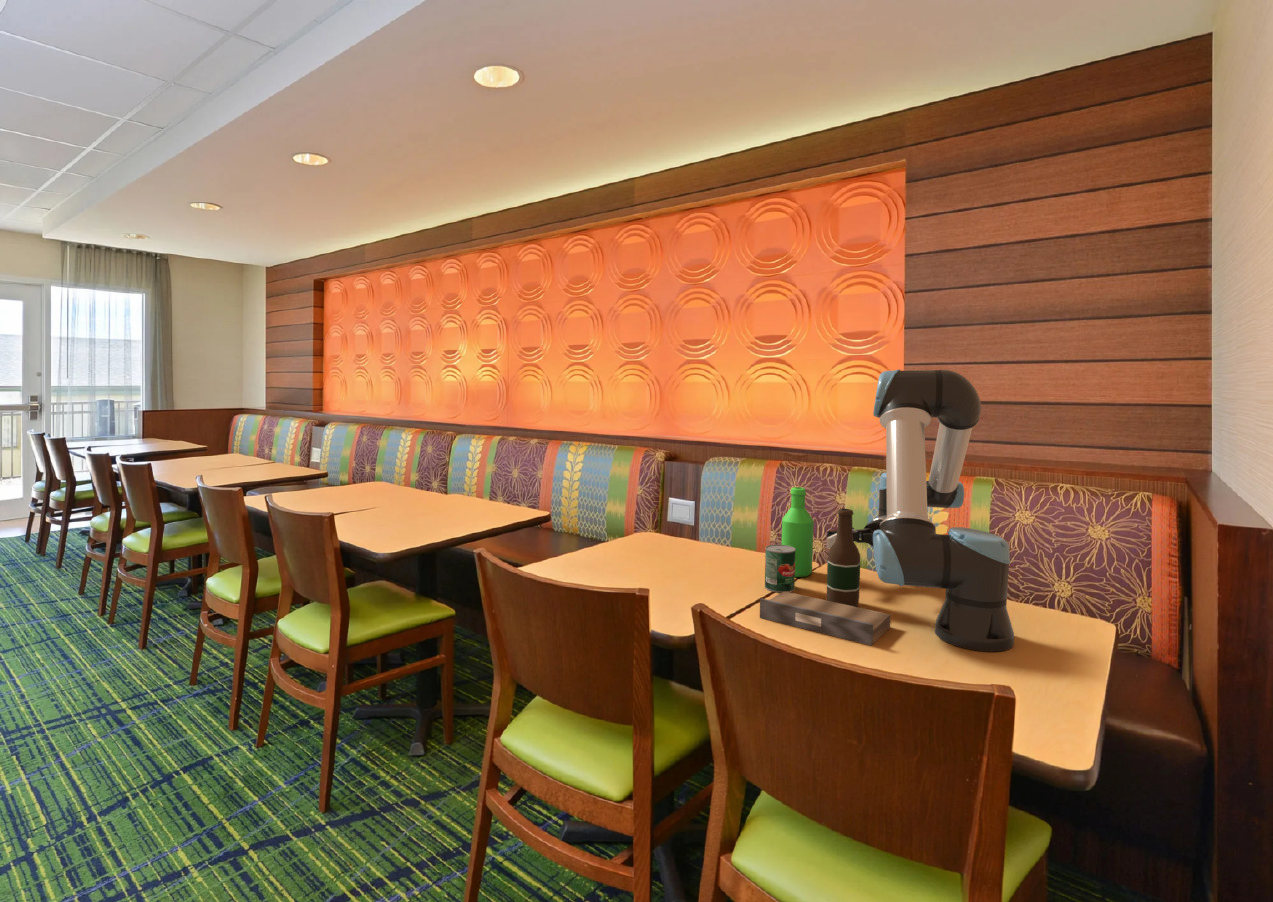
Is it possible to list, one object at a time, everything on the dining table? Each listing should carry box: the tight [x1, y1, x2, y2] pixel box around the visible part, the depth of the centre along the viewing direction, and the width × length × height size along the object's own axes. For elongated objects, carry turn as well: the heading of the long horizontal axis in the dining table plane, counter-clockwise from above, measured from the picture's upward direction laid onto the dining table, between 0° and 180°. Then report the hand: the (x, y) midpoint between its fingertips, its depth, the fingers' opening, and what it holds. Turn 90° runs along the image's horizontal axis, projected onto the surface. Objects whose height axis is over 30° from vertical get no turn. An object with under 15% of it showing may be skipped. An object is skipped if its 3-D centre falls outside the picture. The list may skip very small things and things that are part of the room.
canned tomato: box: [764, 544, 796, 594], centre depth 172 cm, size 8×8×11 cm
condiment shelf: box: [759, 591, 892, 646], centre depth 148 cm, size 26×13×4 cm, turn 52°
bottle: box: [781, 486, 814, 578], centre depth 184 cm, size 9×9×25 cm
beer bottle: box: [826, 508, 861, 607], centre depth 159 cm, size 8×8×24 cm
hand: (853, 547), depth 164 cm, fingers open, 13 cm apart
